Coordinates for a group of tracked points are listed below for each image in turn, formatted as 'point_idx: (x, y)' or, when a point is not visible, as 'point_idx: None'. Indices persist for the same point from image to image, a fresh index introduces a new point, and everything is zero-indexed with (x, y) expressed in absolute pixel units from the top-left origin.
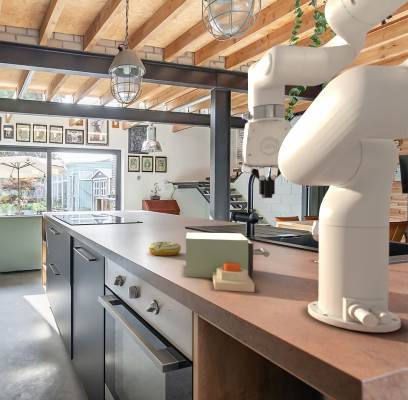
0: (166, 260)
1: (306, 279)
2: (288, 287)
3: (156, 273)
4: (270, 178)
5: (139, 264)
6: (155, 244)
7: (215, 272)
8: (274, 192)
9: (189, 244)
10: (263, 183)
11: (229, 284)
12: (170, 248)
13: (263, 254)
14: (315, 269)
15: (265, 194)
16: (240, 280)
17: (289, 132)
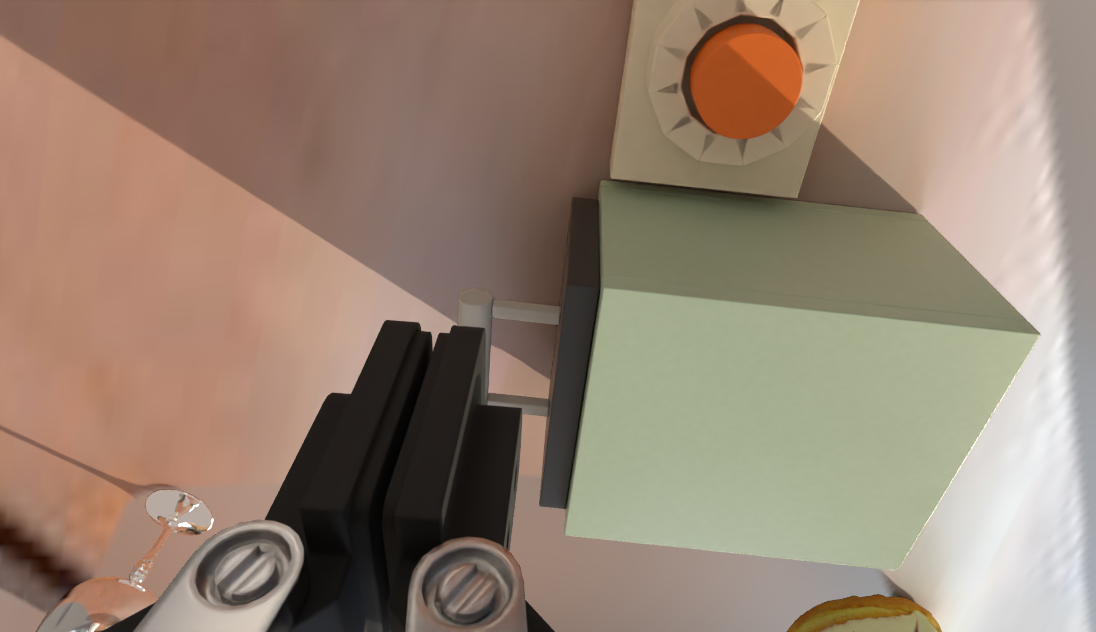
0: None
1: (308, 211)
2: (432, 38)
3: (1062, 273)
4: (313, 580)
5: (1074, 445)
6: None
7: (785, 184)
8: (331, 394)
9: (993, 306)
10: (459, 512)
11: None
12: (856, 622)
13: (492, 296)
14: (233, 394)
15: (470, 344)
16: None
17: None
